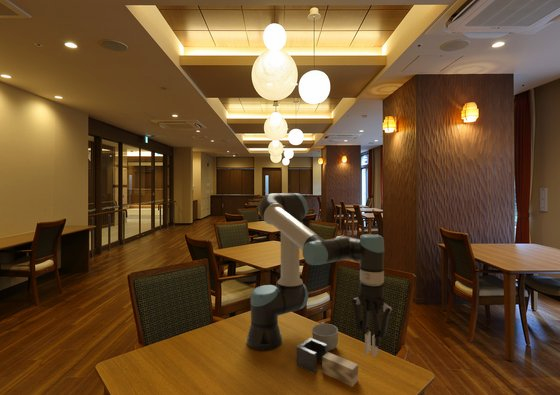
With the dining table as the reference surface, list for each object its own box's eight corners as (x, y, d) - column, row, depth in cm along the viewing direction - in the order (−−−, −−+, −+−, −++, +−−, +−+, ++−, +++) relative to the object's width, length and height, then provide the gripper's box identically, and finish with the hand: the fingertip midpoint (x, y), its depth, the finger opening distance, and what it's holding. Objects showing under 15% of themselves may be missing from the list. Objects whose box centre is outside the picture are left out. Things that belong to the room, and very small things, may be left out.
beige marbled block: (357, 381, 102) (358, 364, 102) (352, 387, 99) (352, 369, 99) (328, 367, 110) (328, 352, 110) (322, 373, 107) (322, 356, 107)
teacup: (338, 355, 118) (338, 336, 118) (310, 353, 120) (310, 333, 120) (337, 338, 132) (337, 320, 131) (313, 336, 134) (313, 318, 133)
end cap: (327, 362, 113) (327, 344, 113) (314, 373, 107) (314, 354, 106) (310, 354, 119) (310, 337, 118) (296, 364, 112) (296, 346, 112)
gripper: (345, 280, 98) (345, 350, 99) (390, 290, 89) (389, 367, 89) (355, 275, 104) (355, 341, 105) (398, 284, 94) (398, 357, 95)
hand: (371, 353), depth 97 cm, fingers open, 2 cm apart
